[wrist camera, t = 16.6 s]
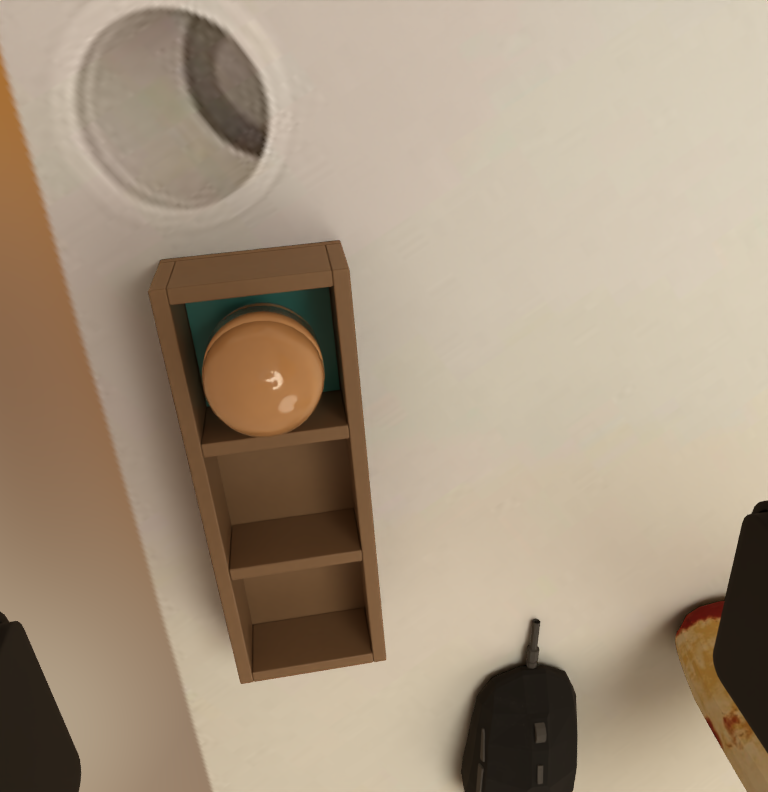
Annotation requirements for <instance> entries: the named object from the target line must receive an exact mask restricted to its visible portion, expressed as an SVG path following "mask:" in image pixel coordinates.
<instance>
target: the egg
mask: <svg viewBox="0 0 768 792" xmlns="http://www.w3.org/2000/svg"><path fill="white" fill-rule="evenodd" d="M324 379H325V371H324V365H323V359H322V352H321V347H320V344H319V341H318V339H317V337H316V334H315V332H314V330H313V329H312V327H311V326H310V324H309V323H308V322H307V321H306V320H305V319H304V318H303V317H302V316H301V315H300V314H298V313H296V312H295V311H293V310H292V309H290V308H288V307H286V306H283V305H280V304H277V303H272V302H254V303H249V304H245V305H243V306H240V307H238V308H236V309H234V310H233V311H231V312H229V313H228V314H226V315H225V316H224V317H223V318H222V319H221V320H220V321H219V322H218V323H217V325H216V326H215V328H214V329H213V330H212V332H211V335H210V337H209V339H208V342H207V345H206V349H205V355H204V361H203V367H202V383H203V391H204V394H205V397H206V400H207V402H208V404H209V405H210V407H211V409H212V411H213V412H214V414H215V415H216V416H217V417H218V418H219V419H220V421H222V422H223V423H224V424H226V425H227V426H228V427H230V428H232V429H233V430H235V431H237V432H239V433H242V434H245V435H248V436H252V437H260V438H263V437H274V436H279V435H282V434H285V433H288V432H290V431H292V430H294V429H295V428H297V427H299V426H300V425H302V424H303V423H304V422H305V421H306V420H307V419H308V418H309V417H310V416H311V415H312V413H313V412H314V411H315V409H316V407H317V405H318V403H319V401H320V399H321V397H322V393H323V389H324Z"/></svg>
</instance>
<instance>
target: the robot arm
mask: <svg viewBox="0 0 768 792" xmlns="http://www.w3.org/2000/svg"><path fill="white" fill-rule="evenodd" d="M713 663H714V667H715V671H716V673H717V676H718V678H719V680H720V681H721V683H722V685H723V686H724V688H725V689H726V691H727V692H728V694H729V695H730V697H731V698H732V700H733V701H734V703H735V704H736V706H737V707H738V709H739V711H740V712H741V714H742V715H743V717H744V718H745V720H746V721H747V723H748V724H749V726H750V727H751V729H752V730H753V732H754V733H755V735H756V736H757V738H758V740H759V741H760V743H761V744H762V746H763V747H764V749H765V750H766V752H767V753H768V501H762V502H759V503H758V504H757V505H756V506H755V507H754V509H753V512H752V514H749V515H747V516H746V517H745V518H744V520H743V523H742V527H741V531H740V535H739V540H738V544H737V549H736V553H735V557H734V562H733V566H732V570H731V575H730V579H729V584H728V588H727V592H726V597H725V601H724V606H723V610H722V614H721V619H720V623H719V627H718V632H717V636H716V641H715V645H714V649H713ZM80 781H81V765H80V759H79V755H78V753H77V751H76V748H75V746H74V744H73V741H72V739H71V736H70V734H69V732H68V730H67V727H66V725H65V723H64V720H63V718H62V716H61V713H60V711H59V709H58V706H57V704H56V702H55V700H54V697H53V695H52V693H51V690H50V688H49V686H48V683H47V681H46V679H45V676H44V674H43V672H42V669H41V667H40V665H39V662H38V660H37V658H36V656H35V653H34V651H33V649H32V646H31V644H30V641H29V639H28V637H27V635H26V632H25V630H24V628H23V626H22V624H20V623H19V622H18V621H14V622H9V621H8V619H7V618H6V616H5V615H4V614H3V613H1V612H0V792H79V787H80Z"/></svg>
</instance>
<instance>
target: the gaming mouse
mask: <svg viewBox="0 0 768 792" xmlns="http://www.w3.org/2000/svg"><path fill="white" fill-rule="evenodd" d="M539 627H540V621H539V620H538V619H534V620H533V626H532V634H531V643H530V645H529V646H528V649H527V662H526V666H523V667H517V668H515V669H512V670H510V671H508V672H505V673H503V674H500V675H498V676H495V677H493V678H491V680H490V681H489V682H488V683H487V685H486V686H485V687H484V688H483V689H482V691H481V692H480V693H479V694H478V696H477V699H476V703H475V706H474V710H473V714H472V718H471V723H470V729H469V734H468V740H467V744H466V748H465V752H464V756H463V763H462V770H461V774H462V779H463V785H464V790H465V792H572V791H573V788H574V781H575V775H576V768H577V711H576V694H575V691H574V688H573V686H572V684H571V682H570V680H569V678H568V676H567V674H566V672H565V671H563V670H559V669H556V668H552V667H548V666H545V665H537V660H538V654H539V647H538V646H537V644H538V636H539Z"/></svg>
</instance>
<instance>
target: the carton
mask: <svg viewBox="0 0 768 792" xmlns="http://www.w3.org/2000/svg"><path fill="white" fill-rule="evenodd" d="M148 294H149V298H150V303H151V307H152V311H153V315H154V319H155V324H156V328H157V332H158V336H159V341H160V345H161V349H162V353H163V357H164V362H165V366H166V370H167V374H168V379H169V383H170V387H171V391H172V396H173V400H174V404H175V408H176V412H177V417H178V421H179V425H180V429H181V434H182V438H183V442H184V446H185V451H186V455H187V459H188V463H189V467H190V472H191V476H192V480H193V484H194V489H195V493H196V497H197V501H198V506H199V510H200V514H201V518H202V522H203V527H204V531H205V535H206V539H207V544H208V548H209V552H210V556H211V560H212V565H213V569H214V573H215V577H216V582H217V586H218V590H219V594H220V599H221V603H222V607H223V611H224V615H225V620H226V624H227V628H228V632H229V637H230V641H231V645H232V649H233V654H234V658H235V662H236V666H237V670H238V675H239V679H240V683H241V684H244V683H250V682H253V681H255V682H256V681H262V680H268V679H274V678H280V677H286V676H292V675H298V674H305V673H311V672H317V671H323V670H329V669H335V668H341V667H347V666H353V665H359V664H365V663H371V662H373V661H374V662H378V661H384V660H386V651H385V640H384V630H383V619H382V609H381V598H380V587H379V577H378V566H377V556H376V545H375V535H374V524H373V513H372V503H371V492H370V482H369V471H368V461H367V450H366V440H365V429H364V418H363V408H362V397H361V387H360V376H359V366H358V355H357V344H356V334H355V323H354V313H353V302H352V292H351V281H350V270H349V267H348V264H347V260H346V257H345V254H344V251H343V248H342V245H341V242H340V241H339V240H338V241H329V242H320V243H311V244H301V245H292V246H283V247H274V248H265V249H255V250H246V251H237V252H228V253H219V254H209V255H200V256H191V257H182V258H173V259H164V260H160V263H159V266H158V268H157V271H156V273H155V275H154V278H153V280H152V283H151V285H150V288H149V290H148ZM254 302H272V303H277V304H280V305H283V306H286V307H288V308H290V309H292V310H293V311H295V312H296V313H298V314H300V315H301V316H302V317H303V318H304V319H305V320H306V321H307V322H308V323H309V324H310V326H311V327H312V329H313V330H314V332H315V334H316V337H317V339H318V341H319V344H320V347H321V352H322V359H323V365H324V371H325V379H324V389H323V393H322V397H321V399H320V401H319V403H318V405H317V407H316V409H315V411H314V412H313V413H312V415H311V416H310V417H309V418H308V419H307V420H306V421H305V422H304V423H303V424H302V425H300V426H299V427H297V428H295V429H294V430H292V431H290V432H288V433H285V434H282V435H279V436H274V437H263V438H260V437H252V436H248V435H245V434H242V433H239V432H237V431H235V430H233V429H232V428H230V427H228V426H227V425H226V424H224V423H223V422H222V421H220V419H219V418H218V417H217V416H216V415H215V414H214V412H213V411H212V409H211V407H210V405H209V404H208V402H207V400H206V397H205V394H204V391H203V383H202V367H203V361H204V355H205V349H206V345H207V342H208V339H209V337H210V335H211V332H212V330H213V329H214V328H215V326H216V325H217V323H218V322H219V321H220V320H221V319H222V318H223V317H224V316H225V315H226V314H228V313H229V312H231V311H233V310H234V309H236V308H238V307H240V306H243V305H245V304H249V303H254Z"/></svg>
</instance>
